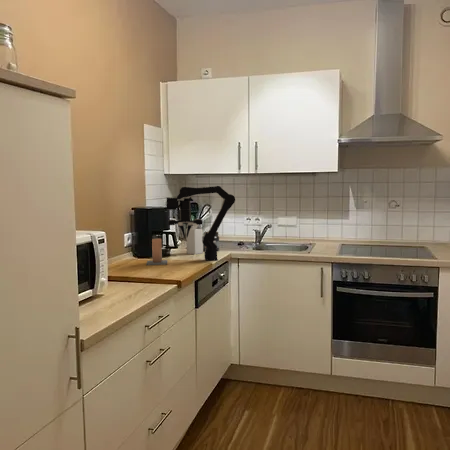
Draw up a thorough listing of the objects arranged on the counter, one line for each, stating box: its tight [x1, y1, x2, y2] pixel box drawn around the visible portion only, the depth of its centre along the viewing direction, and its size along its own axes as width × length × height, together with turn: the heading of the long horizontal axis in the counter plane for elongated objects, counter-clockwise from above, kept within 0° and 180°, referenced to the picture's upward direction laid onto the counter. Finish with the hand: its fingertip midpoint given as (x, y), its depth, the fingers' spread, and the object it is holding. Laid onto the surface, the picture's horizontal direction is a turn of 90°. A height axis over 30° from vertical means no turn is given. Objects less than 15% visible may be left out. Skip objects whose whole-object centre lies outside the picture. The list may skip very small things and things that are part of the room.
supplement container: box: [203, 231, 220, 252], centre depth 300 cm, size 10×10×12 cm
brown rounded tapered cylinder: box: [151, 238, 163, 263], centre depth 254 cm, size 5×5×12 cm
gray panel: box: [145, 259, 168, 266], centre depth 254 cm, size 11×11×1 cm
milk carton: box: [185, 223, 204, 255], centre depth 288 cm, size 7×7×19 cm
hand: (185, 237), depth 260 cm, fingers closed
